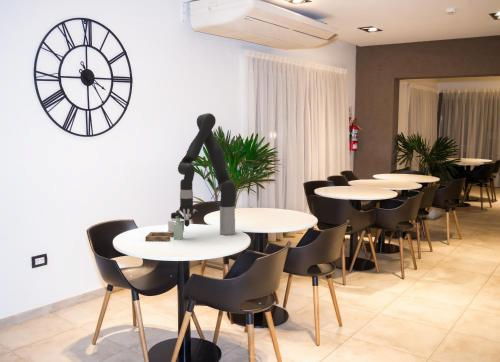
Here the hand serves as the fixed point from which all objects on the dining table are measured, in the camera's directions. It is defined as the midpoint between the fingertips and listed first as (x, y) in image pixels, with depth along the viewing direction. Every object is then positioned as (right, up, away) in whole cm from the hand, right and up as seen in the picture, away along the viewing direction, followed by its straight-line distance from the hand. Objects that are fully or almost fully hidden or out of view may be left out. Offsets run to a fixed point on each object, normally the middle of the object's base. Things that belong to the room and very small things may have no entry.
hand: (186, 226), depth 278 cm
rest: (-15, -8, +1) cm, 17 cm away
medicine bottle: (-10, -6, +21) cm, 24 cm away
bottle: (-5, -8, +1) cm, 9 cm away
